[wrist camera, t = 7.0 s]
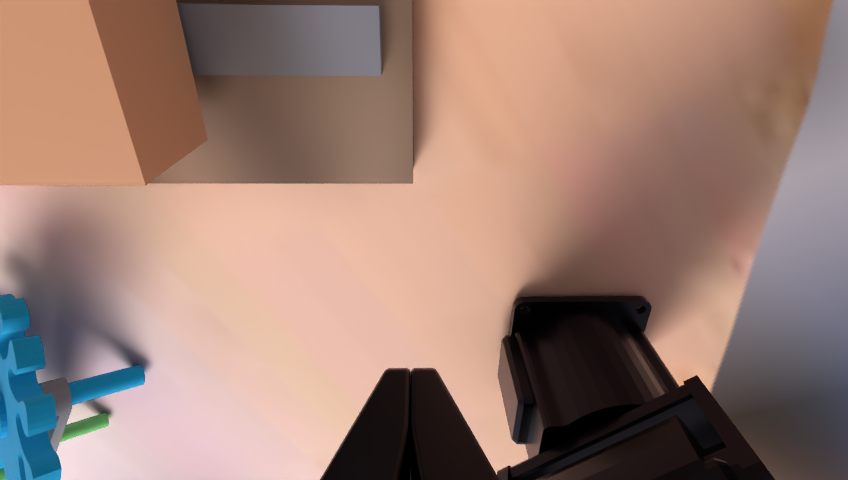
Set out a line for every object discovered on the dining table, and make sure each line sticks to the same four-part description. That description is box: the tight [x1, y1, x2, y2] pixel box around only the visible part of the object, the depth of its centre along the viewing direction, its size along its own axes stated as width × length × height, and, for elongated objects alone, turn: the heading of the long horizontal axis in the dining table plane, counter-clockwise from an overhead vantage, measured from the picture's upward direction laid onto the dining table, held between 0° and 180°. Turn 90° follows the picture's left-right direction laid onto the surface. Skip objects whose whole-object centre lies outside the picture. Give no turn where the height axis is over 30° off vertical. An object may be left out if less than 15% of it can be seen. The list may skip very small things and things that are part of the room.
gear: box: [0, 294, 145, 480], centre depth 21 cm, size 11×6×10 cm
